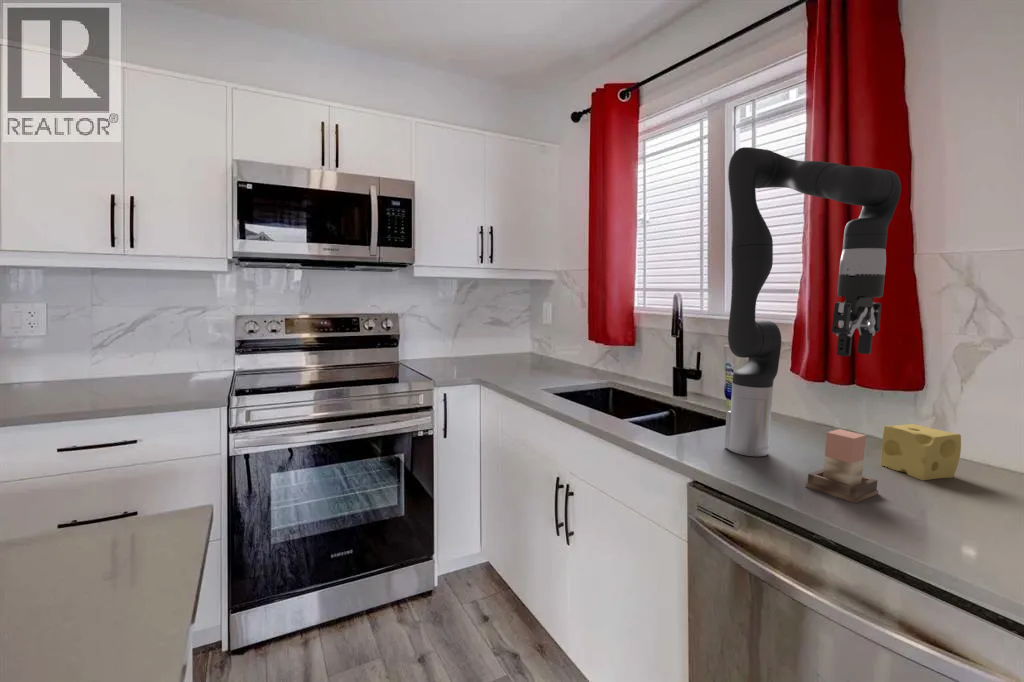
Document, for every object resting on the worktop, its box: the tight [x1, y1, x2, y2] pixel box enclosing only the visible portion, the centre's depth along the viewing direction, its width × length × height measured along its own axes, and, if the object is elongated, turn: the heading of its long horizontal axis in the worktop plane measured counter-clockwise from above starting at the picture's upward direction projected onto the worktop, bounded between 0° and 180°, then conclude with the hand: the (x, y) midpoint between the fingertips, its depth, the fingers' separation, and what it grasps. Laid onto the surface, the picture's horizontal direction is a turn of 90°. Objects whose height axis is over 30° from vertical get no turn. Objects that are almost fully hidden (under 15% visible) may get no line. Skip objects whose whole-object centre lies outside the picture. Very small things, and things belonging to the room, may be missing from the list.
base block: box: [823, 455, 865, 486], centre depth 104 cm, size 5×5×6 cm
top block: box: [824, 428, 867, 463], centre depth 103 cm, size 5×5×5 cm
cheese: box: [880, 423, 962, 481], centre depth 117 cm, size 10×11×10 cm
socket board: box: [805, 468, 879, 504], centre depth 104 cm, size 10×10×3 cm
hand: (853, 354), depth 101 cm, fingers open, 8 cm apart
